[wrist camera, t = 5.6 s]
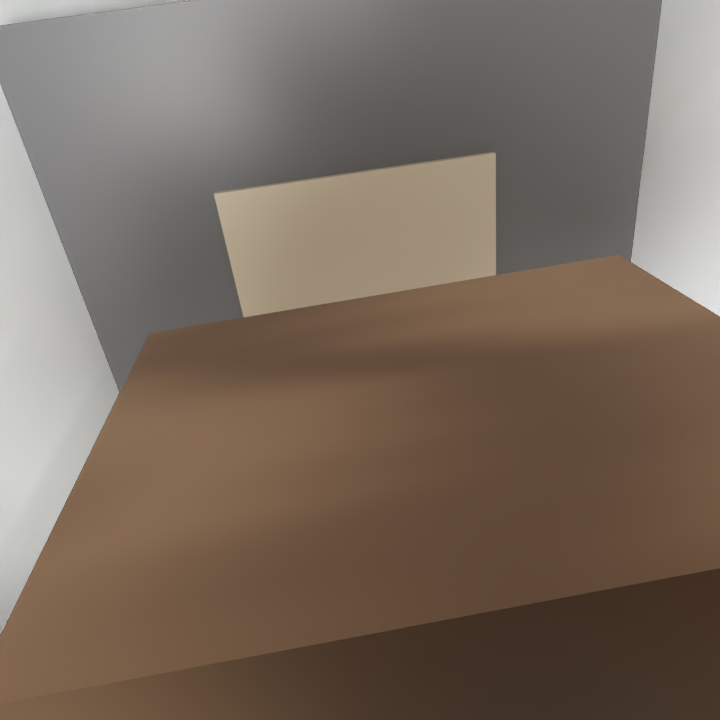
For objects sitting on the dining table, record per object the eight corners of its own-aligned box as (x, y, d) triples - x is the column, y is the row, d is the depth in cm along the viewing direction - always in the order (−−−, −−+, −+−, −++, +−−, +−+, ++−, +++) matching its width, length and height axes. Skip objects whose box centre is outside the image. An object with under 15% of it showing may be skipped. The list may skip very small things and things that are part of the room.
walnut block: (255, 637, 11) (234, 1036, 6) (149, 333, 8) (-37, 709, 3) (588, 574, 11) (786, 919, 7) (617, 254, 8) (1033, 508, 3)
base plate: (182, 509, 22) (175, 542, 20) (7, 30, 14) (-26, 28, 13) (587, 441, 22) (608, 468, 21) (635, -53, 15) (674, -65, 13)
